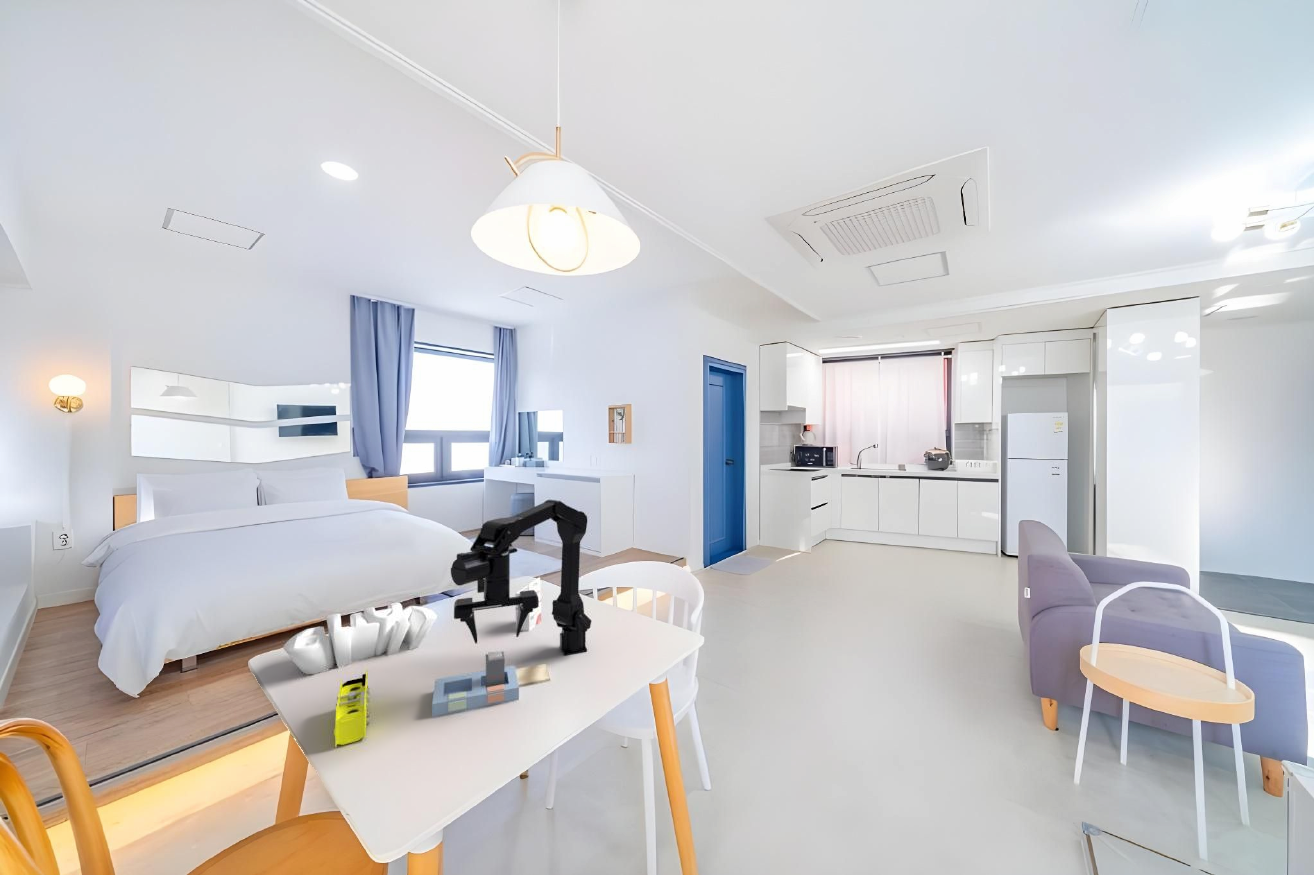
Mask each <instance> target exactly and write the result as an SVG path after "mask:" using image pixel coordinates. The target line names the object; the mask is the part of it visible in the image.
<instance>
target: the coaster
mask: <svg viewBox="0 0 1314 875" xmlns="http://www.w3.org/2000/svg"><path fill="white" fill-rule="evenodd" d="M515 670H516V675H517V680H518V685H519V688H521V687H526V686H532V685H537V684H542V683H546V682H550V681H551V676H550V673H549V671H548V667H547V665H546V663H542V664H536V665H532V666H531V665H530V666H526V667H525V666H524V667H520V668H515Z"/></svg>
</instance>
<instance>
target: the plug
mask: <svg viewBox="0 0 1314 875" xmlns="http://www.w3.org/2000/svg"><path fill="white" fill-rule="evenodd" d="M505 660H506V659H505V654H504V651H502V650H495V651H489V652H488V653H487V654H485V670H486V688H487V687H492V686H497V685H502V684H504V669H505V667H506V666H505Z"/></svg>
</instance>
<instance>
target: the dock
mask: <svg viewBox="0 0 1314 875" xmlns="http://www.w3.org/2000/svg"><path fill="white" fill-rule="evenodd" d="M515 669H516V666H515V665H509V666H505V669H504V684H502V685H497V686H492V687H487V688H486V669H485V670H479V671H475V672H470V673H465V674H457V675H453V676H446V677H440V678H436V679H435V681H434V688H433V696H432V702H431V712H432V713H431V718H432V719H433V718H438V717H441V716H442V717H443V716H445V715H451V714H455V713H456V714H457V713H461V712H465V711H471V710H476V709H480V708H481V709H482V708H485V707H489V706H495V705H500V704H504V703H509V702H514V701H519V700H520V687H519V685H518V680H517V675H516V670H515Z"/></svg>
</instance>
